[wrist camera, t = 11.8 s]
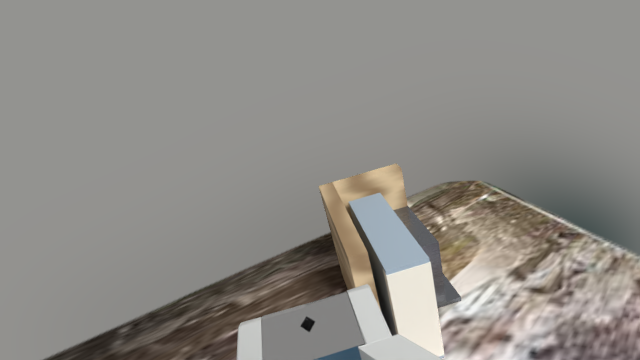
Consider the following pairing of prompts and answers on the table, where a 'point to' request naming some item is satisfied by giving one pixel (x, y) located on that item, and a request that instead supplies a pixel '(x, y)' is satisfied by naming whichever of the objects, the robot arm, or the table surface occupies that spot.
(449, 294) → the metal bookend
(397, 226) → the slate book box
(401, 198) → the oak shelf
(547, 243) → the table surface
